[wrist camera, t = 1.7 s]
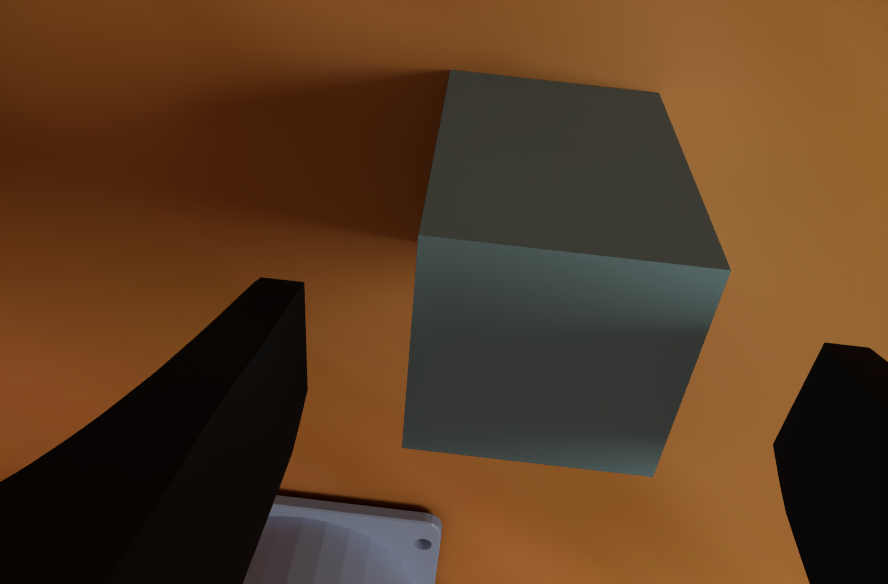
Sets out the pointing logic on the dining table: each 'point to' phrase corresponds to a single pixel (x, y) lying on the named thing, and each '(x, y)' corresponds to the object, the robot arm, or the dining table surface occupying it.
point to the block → (557, 277)
